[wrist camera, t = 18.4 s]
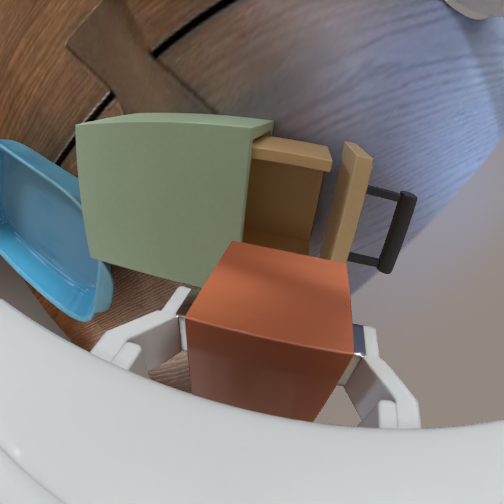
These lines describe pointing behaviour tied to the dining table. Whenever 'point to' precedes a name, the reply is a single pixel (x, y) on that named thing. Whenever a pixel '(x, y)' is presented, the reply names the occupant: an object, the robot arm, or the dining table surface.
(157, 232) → the cabinet
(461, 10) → the jar
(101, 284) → the casserole dish
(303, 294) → the block
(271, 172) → the drawer
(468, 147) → the dining table surface
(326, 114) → the dining table surface
